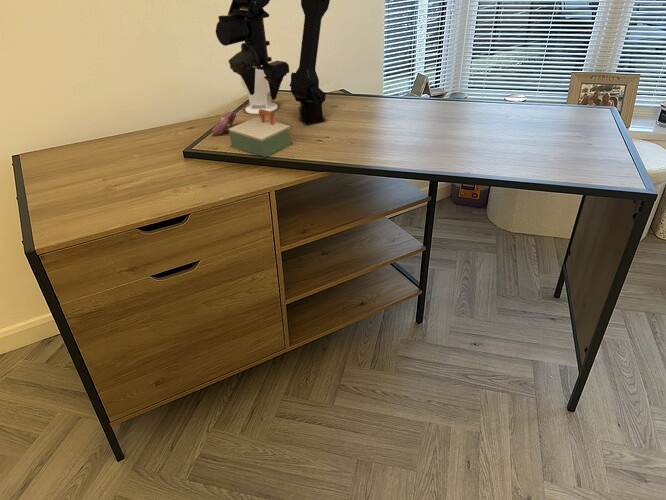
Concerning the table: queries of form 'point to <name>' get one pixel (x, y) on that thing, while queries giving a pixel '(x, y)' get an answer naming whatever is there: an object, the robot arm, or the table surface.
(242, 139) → the box
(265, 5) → the robot arm
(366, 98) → the table surface
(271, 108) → the panda figurine
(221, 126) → the purple oblong lump
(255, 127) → the lid
